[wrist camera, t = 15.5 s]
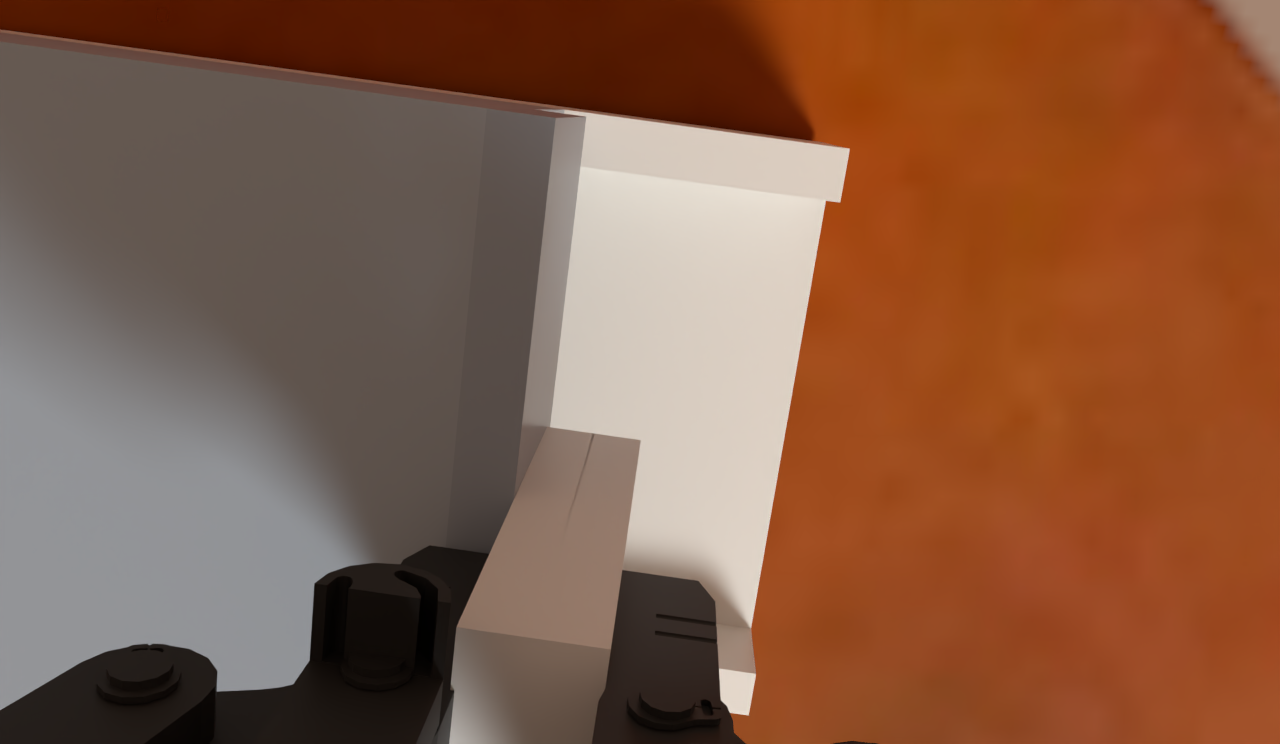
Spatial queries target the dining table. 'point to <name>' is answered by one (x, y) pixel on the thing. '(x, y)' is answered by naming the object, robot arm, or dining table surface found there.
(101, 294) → the lid
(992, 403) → the dining table surface
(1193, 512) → the dining table surface
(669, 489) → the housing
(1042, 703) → the dining table surface
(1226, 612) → the dining table surface
